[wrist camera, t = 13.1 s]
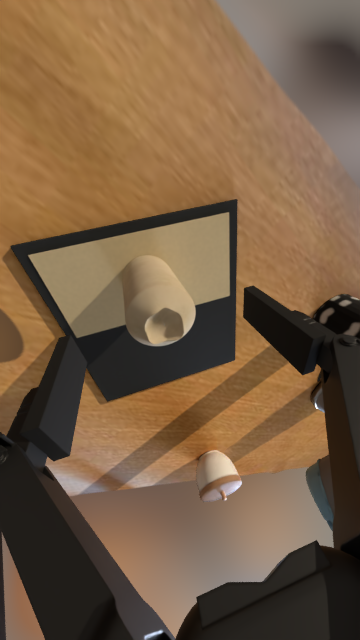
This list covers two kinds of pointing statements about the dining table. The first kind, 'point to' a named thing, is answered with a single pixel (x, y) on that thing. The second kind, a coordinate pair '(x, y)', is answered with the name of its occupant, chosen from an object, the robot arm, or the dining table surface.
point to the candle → (155, 302)
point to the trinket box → (216, 476)
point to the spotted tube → (341, 315)
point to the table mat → (108, 301)
